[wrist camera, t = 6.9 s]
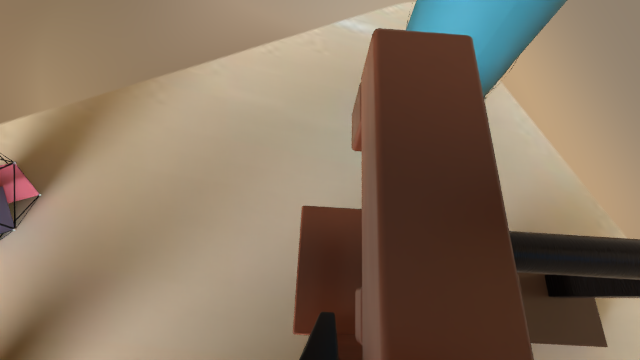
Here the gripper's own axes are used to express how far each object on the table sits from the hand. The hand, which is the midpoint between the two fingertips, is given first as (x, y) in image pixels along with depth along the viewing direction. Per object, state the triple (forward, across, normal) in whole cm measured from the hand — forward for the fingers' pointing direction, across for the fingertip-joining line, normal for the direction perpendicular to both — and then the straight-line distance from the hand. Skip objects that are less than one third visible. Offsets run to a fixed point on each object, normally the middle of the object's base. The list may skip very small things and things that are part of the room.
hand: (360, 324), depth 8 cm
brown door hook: (+6, 0, +4) cm, 7 cm away
